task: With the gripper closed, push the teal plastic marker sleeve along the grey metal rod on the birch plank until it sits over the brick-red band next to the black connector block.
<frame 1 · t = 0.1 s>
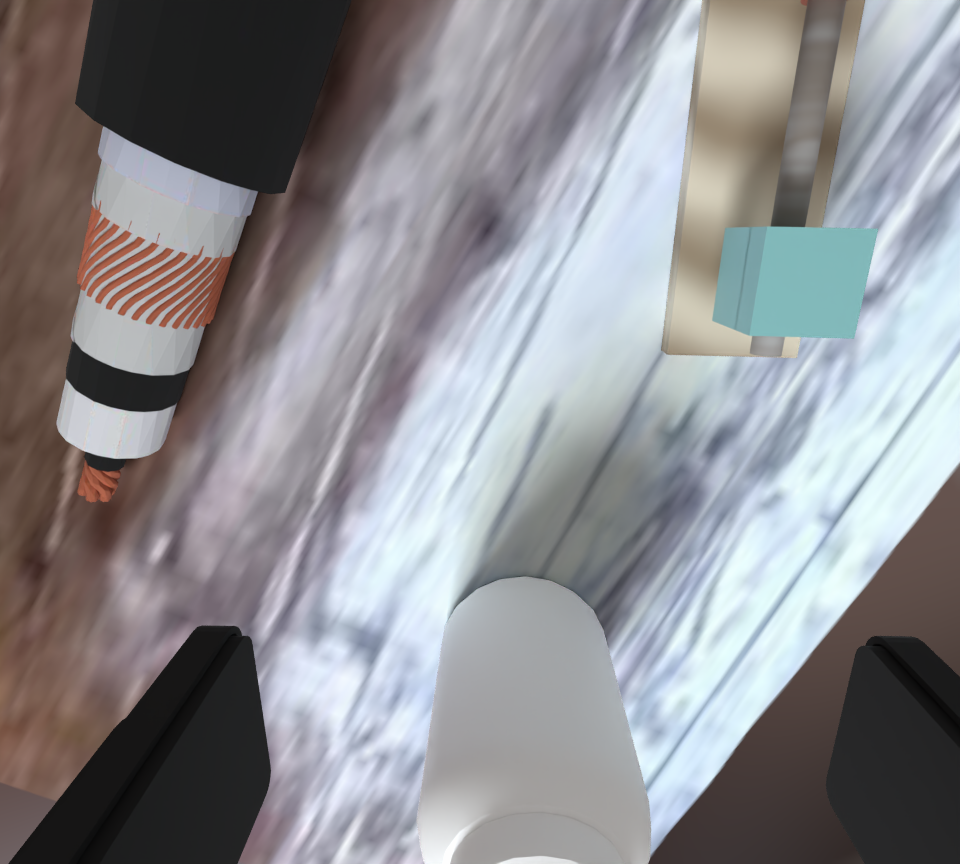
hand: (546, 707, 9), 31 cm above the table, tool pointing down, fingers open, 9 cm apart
cord rod: (756, 129, 34), on the table
white jar: (522, 640, 46), on the table
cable: (196, 259, 38), on the table
marker sleeve: (785, 279, 30), point 7 cm above the table, slide at 0.0 cm
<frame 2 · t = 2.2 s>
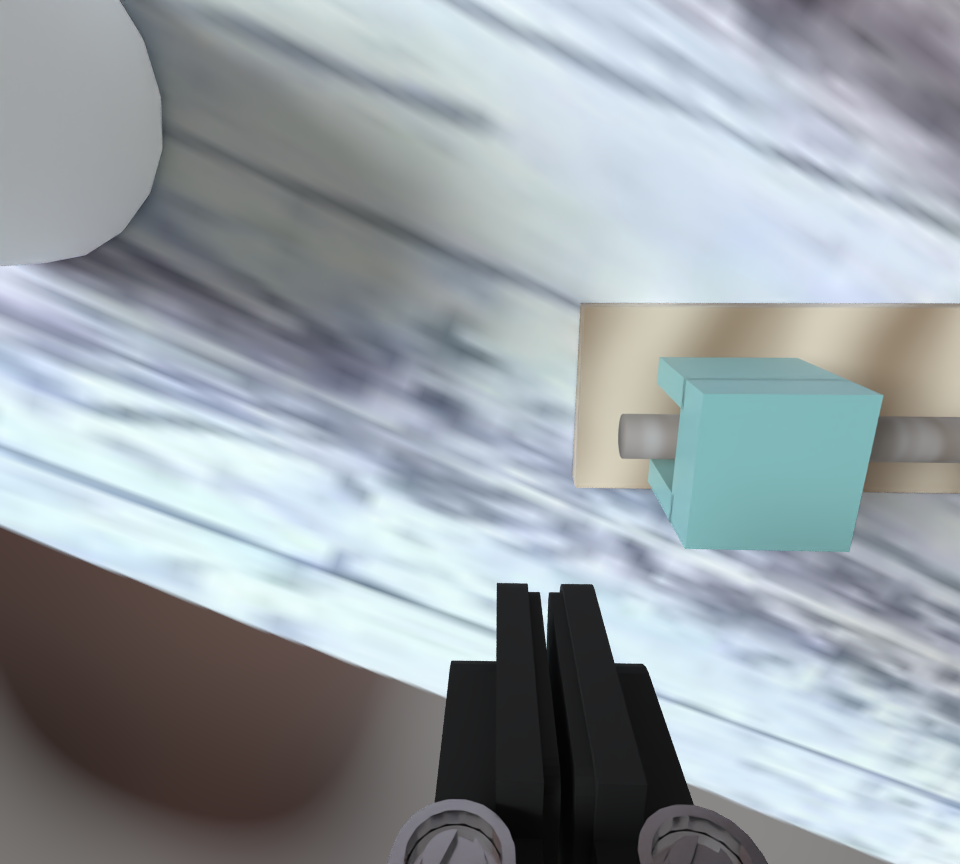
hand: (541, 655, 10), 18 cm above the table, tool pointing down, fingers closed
cord rod: (871, 395, 26), on the table
white jar: (25, 103, 24), on the table
marker sleeve: (745, 445, 20), point 7 cm above the table, slide at 0.0 cm
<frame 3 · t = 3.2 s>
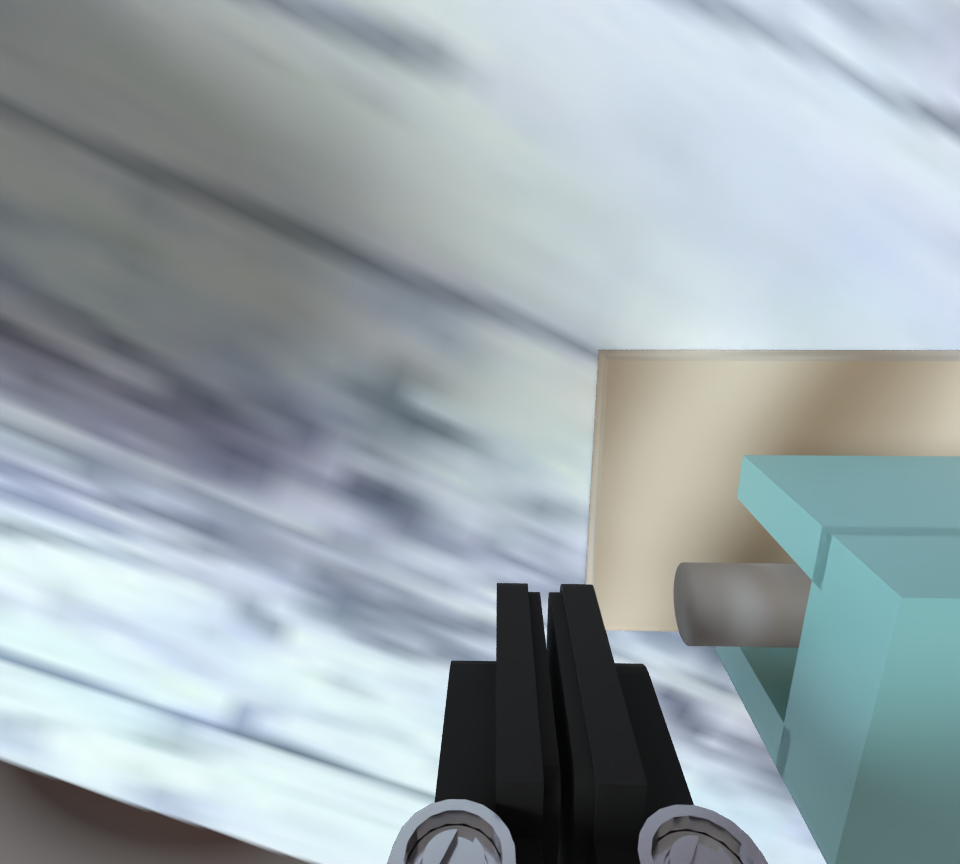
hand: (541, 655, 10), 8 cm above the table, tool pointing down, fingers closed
marker sleeve: (918, 633, 11), point 7 cm above the table, slide at 0.0 cm
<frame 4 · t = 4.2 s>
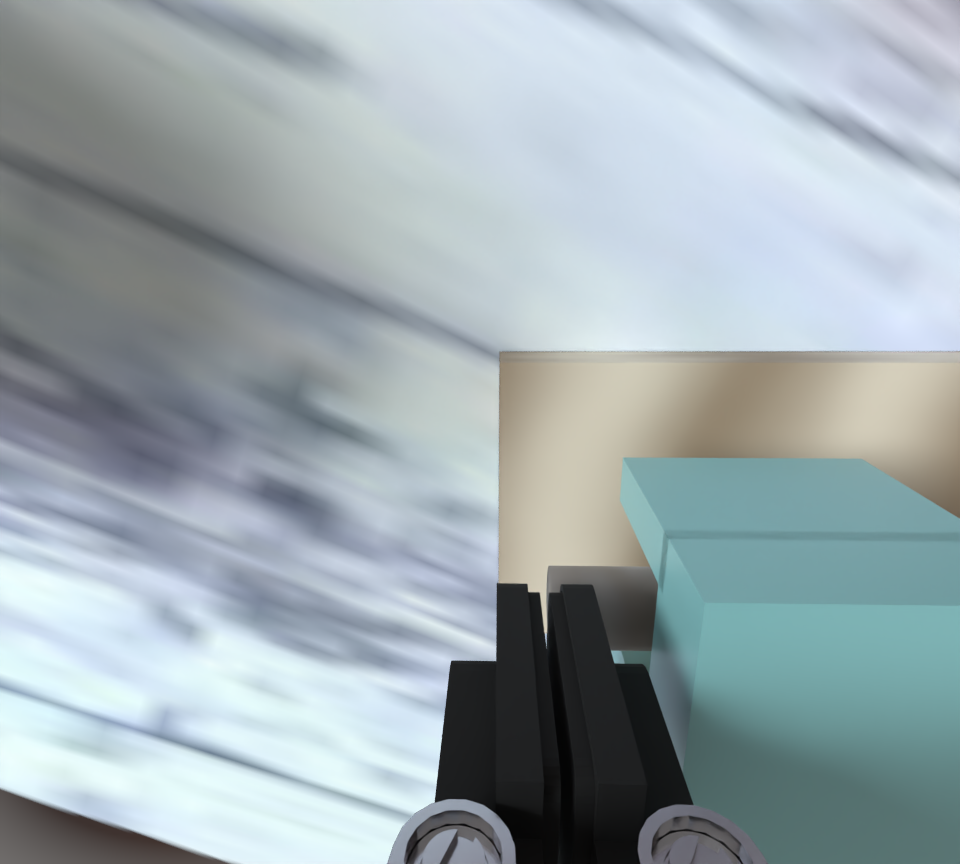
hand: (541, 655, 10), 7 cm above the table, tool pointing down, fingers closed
cord rod: (949, 488, 17), on the table
marker sleeve: (779, 637, 11), point 7 cm above the table, slide at 0.1 cm, touching gripper
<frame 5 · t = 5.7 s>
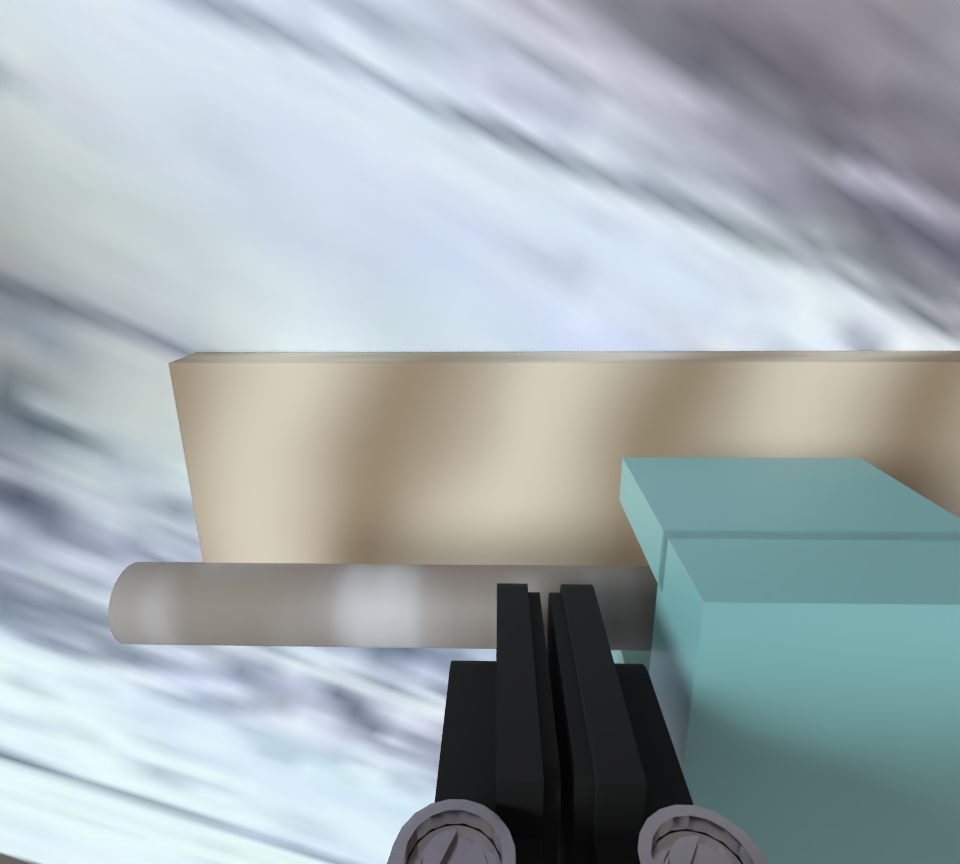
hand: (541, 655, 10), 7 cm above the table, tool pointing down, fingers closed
cord rod: (655, 486, 17), on the table
marker sleeve: (779, 636, 11), point 7 cm above the table, slide at 8.6 cm, touching gripper
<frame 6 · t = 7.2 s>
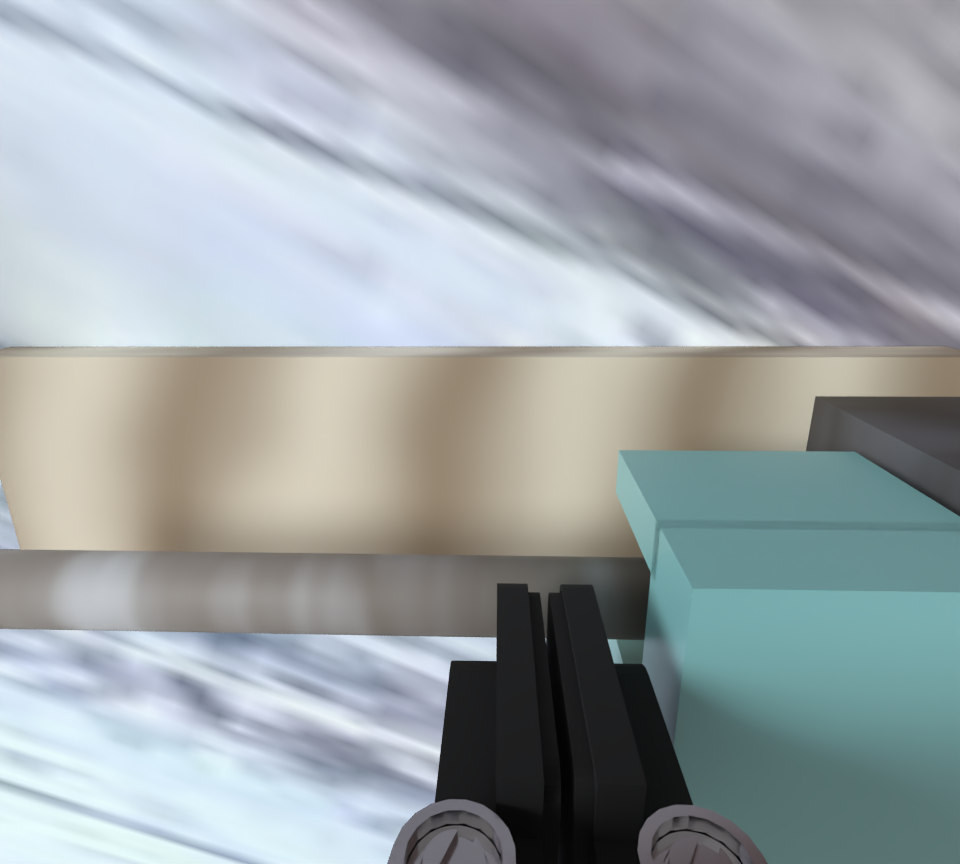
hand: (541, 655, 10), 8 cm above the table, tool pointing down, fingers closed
cord rod: (466, 479, 18), on the table
marker sleeve: (771, 626, 11), point 7 cm above the table, slide at 14.1 cm, touching gripper
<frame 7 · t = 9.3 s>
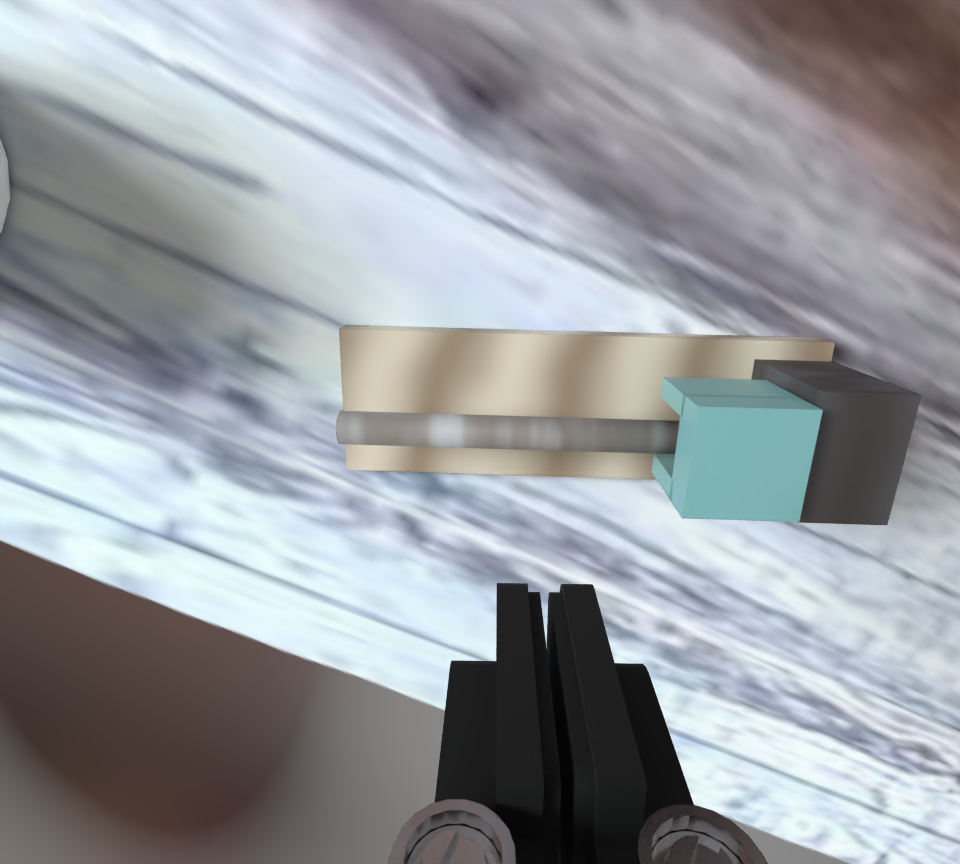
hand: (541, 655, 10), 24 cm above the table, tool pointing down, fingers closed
cord rod: (576, 401, 34), on the table
marker sleeve: (726, 444, 27), point 7 cm above the table, slide at 14.0 cm
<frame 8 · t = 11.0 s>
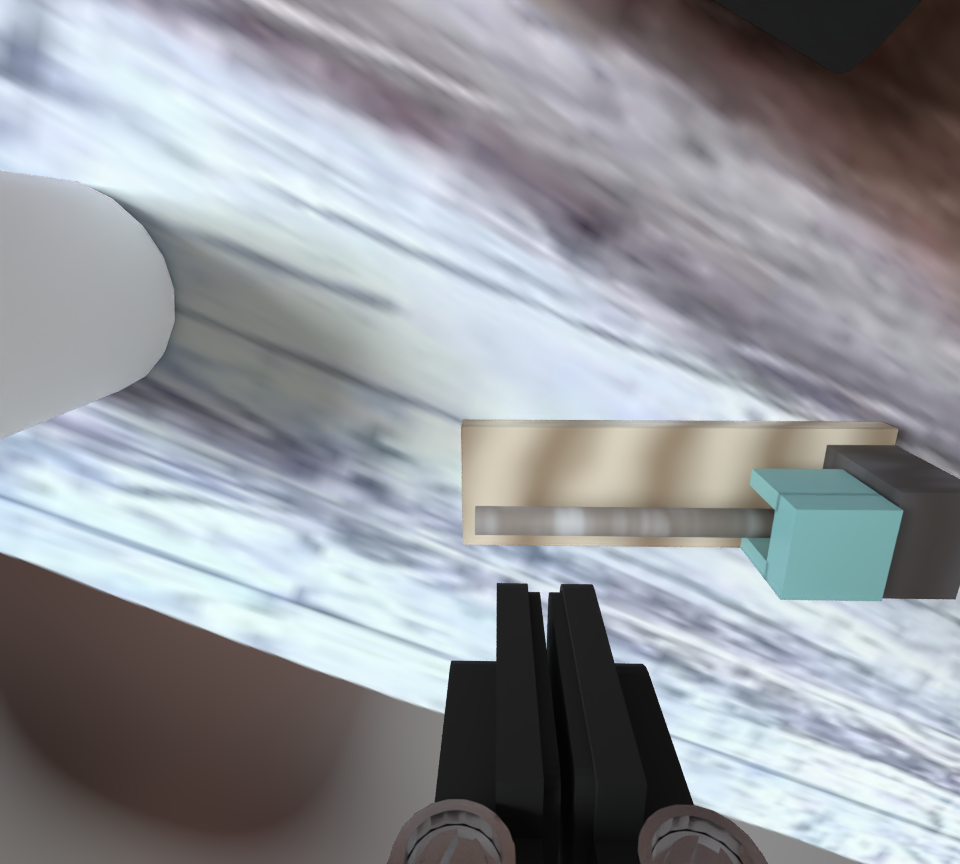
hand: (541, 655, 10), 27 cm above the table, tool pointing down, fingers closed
cord rod: (664, 480, 38), on the table
white jar: (80, 290, 36), on the table
marker sleeve: (813, 531, 32), point 7 cm above the table, slide at 14.0 cm
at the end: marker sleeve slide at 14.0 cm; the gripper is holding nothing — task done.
